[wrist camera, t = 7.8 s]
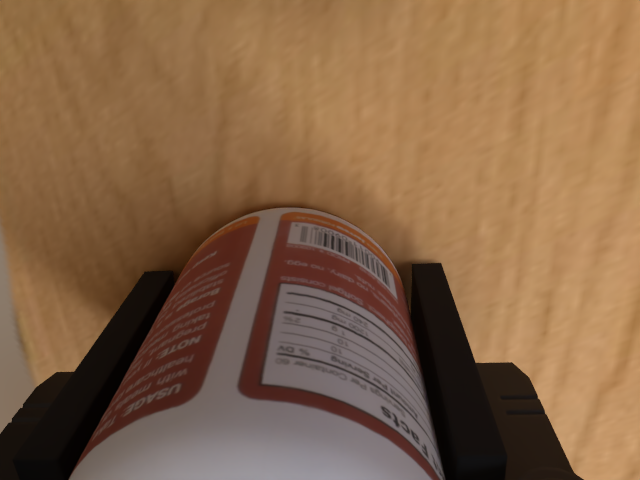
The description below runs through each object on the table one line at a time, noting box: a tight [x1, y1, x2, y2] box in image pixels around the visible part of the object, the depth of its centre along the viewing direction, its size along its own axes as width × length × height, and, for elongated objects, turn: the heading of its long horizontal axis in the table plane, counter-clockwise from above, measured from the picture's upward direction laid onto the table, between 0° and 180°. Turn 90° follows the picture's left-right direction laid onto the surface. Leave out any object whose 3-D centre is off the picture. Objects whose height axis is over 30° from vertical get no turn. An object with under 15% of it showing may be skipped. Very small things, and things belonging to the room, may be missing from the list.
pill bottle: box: [68, 208, 446, 480], centre depth 10 cm, size 6×6×11 cm
